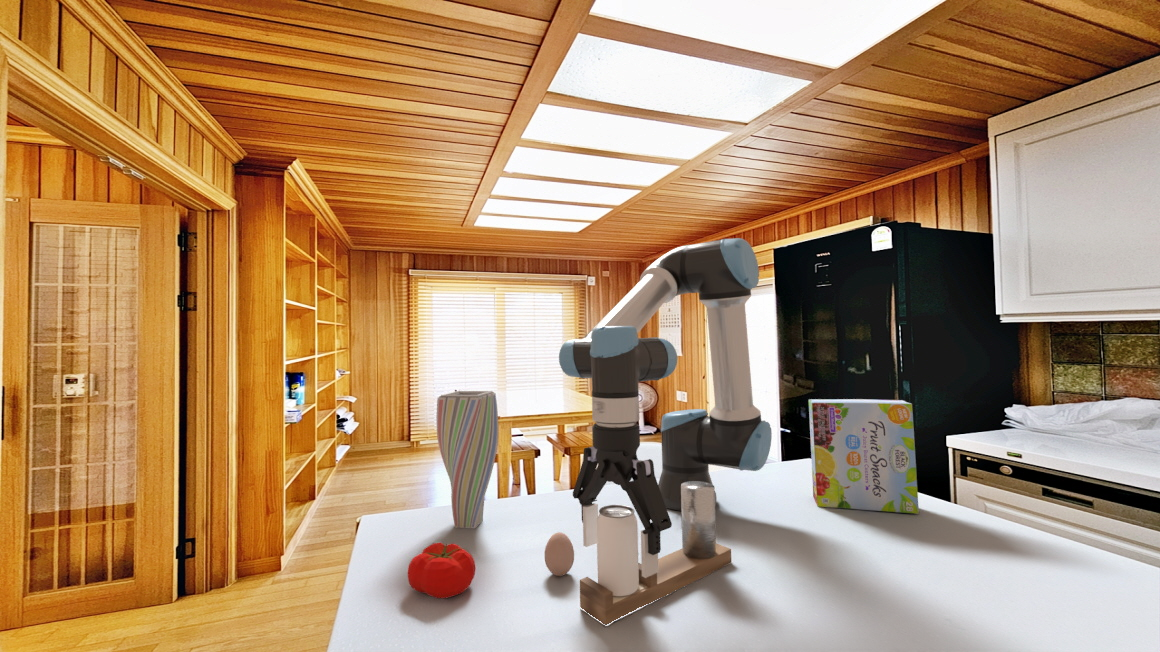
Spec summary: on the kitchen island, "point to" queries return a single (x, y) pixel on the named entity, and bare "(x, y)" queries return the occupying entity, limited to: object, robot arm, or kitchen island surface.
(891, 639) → the kitchen island surface
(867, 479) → the snack box
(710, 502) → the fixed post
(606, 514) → the can
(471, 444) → the vase
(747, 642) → the kitchen island surface
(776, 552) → the kitchen island surface
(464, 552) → the tomato
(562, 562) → the egg
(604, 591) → the rail
